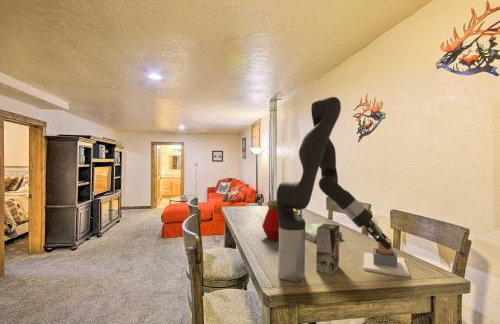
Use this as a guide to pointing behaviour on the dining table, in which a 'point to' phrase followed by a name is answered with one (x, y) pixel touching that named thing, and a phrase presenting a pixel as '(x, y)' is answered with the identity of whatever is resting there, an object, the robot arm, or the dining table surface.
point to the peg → (383, 250)
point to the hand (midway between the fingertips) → (388, 244)
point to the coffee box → (327, 248)
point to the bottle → (271, 222)
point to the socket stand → (385, 263)
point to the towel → (314, 232)
